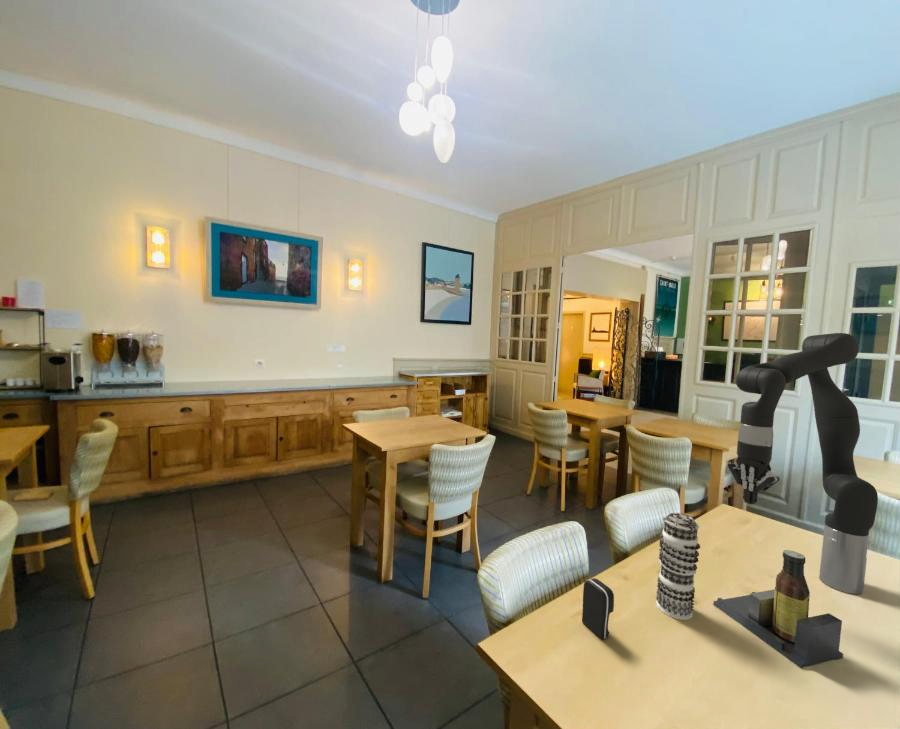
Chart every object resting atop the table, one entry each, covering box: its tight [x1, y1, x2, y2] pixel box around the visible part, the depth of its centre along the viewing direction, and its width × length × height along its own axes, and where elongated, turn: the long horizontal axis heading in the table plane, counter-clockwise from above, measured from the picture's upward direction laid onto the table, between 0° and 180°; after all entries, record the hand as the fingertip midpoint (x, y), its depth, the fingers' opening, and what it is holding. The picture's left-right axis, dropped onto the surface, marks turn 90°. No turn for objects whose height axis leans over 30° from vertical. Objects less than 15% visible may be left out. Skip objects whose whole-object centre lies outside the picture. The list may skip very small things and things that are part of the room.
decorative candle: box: [655, 512, 701, 621], centre depth 103 cm, size 9×9×25 cm
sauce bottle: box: [773, 549, 811, 643], centre depth 93 cm, size 7×6×20 cm
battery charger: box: [581, 578, 615, 640], centre depth 95 cm, size 7×4×11 cm, turn 26°
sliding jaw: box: [748, 588, 775, 627], centre depth 98 cm, size 10×3×7 cm, turn 105°
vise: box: [712, 591, 844, 669], centre depth 97 cm, size 13×21×9 cm, turn 15°
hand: (749, 503), depth 108 cm, fingers closed
